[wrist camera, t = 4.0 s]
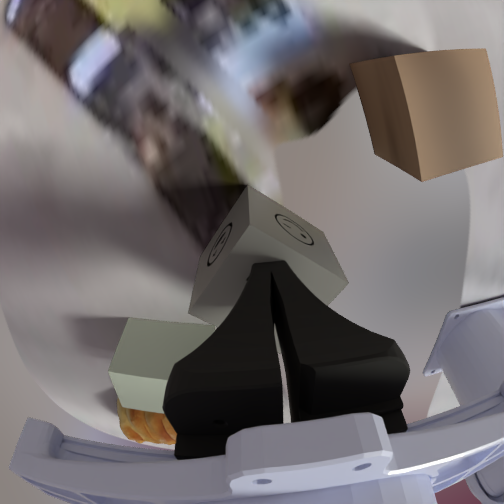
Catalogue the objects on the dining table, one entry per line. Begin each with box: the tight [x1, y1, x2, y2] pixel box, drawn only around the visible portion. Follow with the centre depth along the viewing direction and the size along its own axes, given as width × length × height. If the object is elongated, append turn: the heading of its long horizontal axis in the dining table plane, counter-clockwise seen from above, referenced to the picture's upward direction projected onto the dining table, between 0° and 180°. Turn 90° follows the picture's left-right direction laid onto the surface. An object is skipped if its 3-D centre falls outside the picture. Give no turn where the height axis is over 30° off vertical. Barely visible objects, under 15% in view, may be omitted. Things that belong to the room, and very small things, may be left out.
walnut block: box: [350, 49, 503, 182], centre depth 11 cm, size 5×5×5 cm
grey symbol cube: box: [188, 185, 349, 353], centre depth 15 cm, size 5×5×5 cm
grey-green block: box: [108, 317, 215, 414], centre depth 19 cm, size 6×4×5 cm, turn 85°
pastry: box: [117, 398, 177, 445], centre depth 24 cm, size 9×7×4 cm
